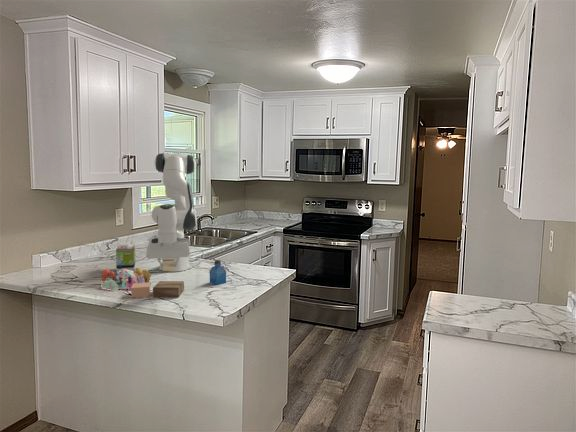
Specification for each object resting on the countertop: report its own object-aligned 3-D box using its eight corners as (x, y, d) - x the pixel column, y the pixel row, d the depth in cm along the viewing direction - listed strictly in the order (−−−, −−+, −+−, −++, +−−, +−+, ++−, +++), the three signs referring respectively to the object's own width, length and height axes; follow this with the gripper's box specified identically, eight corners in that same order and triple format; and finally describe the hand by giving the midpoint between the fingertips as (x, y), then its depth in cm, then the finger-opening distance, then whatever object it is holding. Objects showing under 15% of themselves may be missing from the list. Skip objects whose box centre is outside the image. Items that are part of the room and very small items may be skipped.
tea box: (134, 273, 256) (133, 248, 254) (116, 274, 253) (115, 249, 252) (136, 267, 270) (135, 243, 269) (118, 268, 268) (117, 244, 266)
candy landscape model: (139, 277, 249) (139, 261, 248) (159, 285, 232) (158, 268, 231) (93, 285, 232) (92, 268, 231) (110, 295, 215) (110, 276, 214)
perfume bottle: (209, 282, 237) (209, 260, 236) (219, 280, 242) (219, 258, 240) (216, 285, 233) (216, 262, 232) (226, 282, 237) (225, 260, 236)
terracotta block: (133, 293, 218) (132, 283, 217) (150, 292, 220) (150, 282, 219) (131, 298, 210) (131, 287, 209) (149, 297, 212) (149, 286, 211)
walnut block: (160, 290, 223) (159, 281, 222) (184, 291, 223) (183, 281, 222) (153, 298, 211) (152, 287, 210) (178, 298, 211) (178, 287, 211)
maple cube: (163, 269, 217) (163, 259, 217) (174, 268, 218) (173, 258, 218) (163, 271, 212) (162, 261, 212) (174, 270, 213) (173, 260, 213)
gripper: (189, 236, 219) (190, 264, 221) (146, 238, 214) (147, 266, 216) (190, 238, 213) (190, 266, 215) (145, 240, 208) (146, 269, 210)
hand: (168, 266), depth 215 cm, fingers closed on maple cube, 5 cm apart
